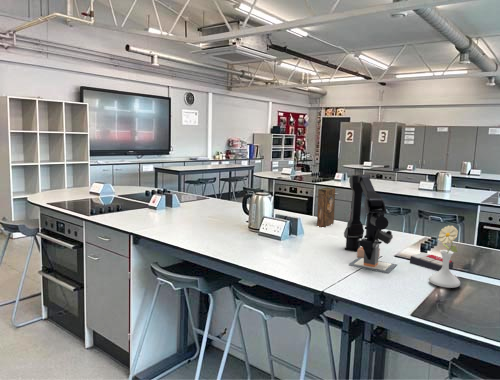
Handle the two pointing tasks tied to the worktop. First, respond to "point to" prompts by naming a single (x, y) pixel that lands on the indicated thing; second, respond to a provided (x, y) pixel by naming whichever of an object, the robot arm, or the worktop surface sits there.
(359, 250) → the copper square tube
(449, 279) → the flower in vase
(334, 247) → the worktop surface
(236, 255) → the worktop surface
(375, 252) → the grey square block
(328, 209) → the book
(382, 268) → the writing mat
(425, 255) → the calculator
